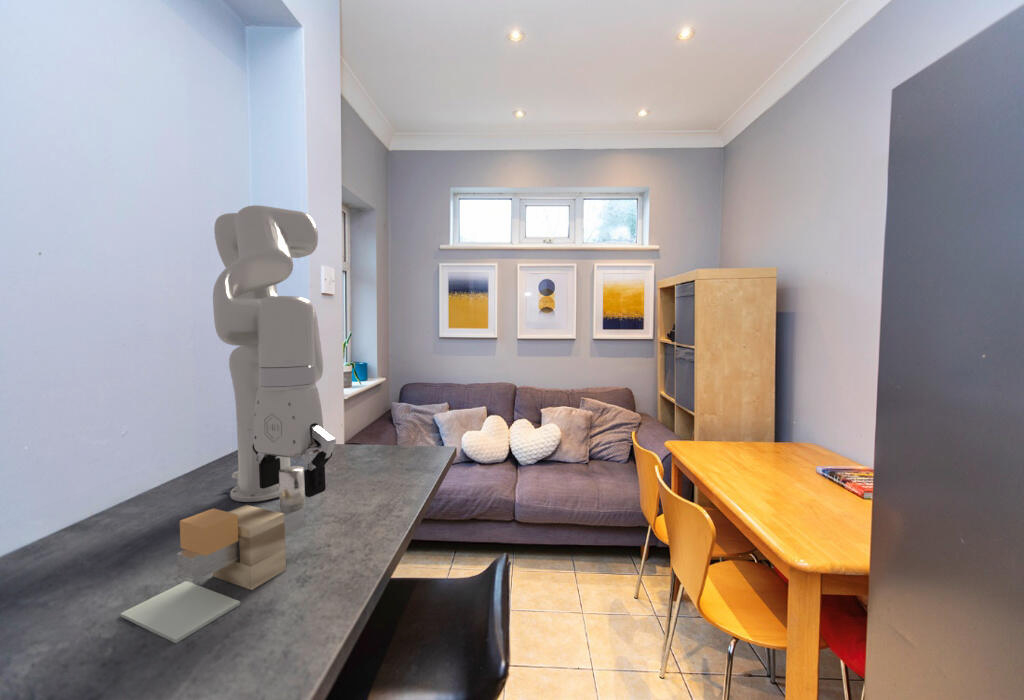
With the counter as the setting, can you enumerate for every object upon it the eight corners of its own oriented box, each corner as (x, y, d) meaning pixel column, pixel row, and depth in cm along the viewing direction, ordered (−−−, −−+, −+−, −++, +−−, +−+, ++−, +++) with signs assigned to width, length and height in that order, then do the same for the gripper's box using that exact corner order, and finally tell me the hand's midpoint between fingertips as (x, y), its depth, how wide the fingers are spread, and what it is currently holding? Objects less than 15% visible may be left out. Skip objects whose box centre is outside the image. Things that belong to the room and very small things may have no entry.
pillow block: (213, 576, 58) (210, 518, 57) (248, 558, 62) (246, 504, 62) (251, 590, 55) (249, 529, 54) (285, 569, 59) (284, 513, 59)
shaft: (176, 576, 52) (173, 505, 51) (294, 520, 67) (293, 464, 67) (193, 583, 50) (190, 509, 50) (310, 524, 66) (308, 467, 65)
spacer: (180, 547, 53) (179, 520, 53) (214, 533, 56) (213, 508, 56) (205, 556, 51) (204, 527, 51) (238, 540, 54) (237, 514, 54)
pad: (120, 616, 50) (120, 613, 50) (186, 583, 56) (186, 580, 56) (175, 643, 45) (175, 639, 45) (240, 604, 52) (240, 601, 52)
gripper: (226, 379, 64) (230, 491, 64) (308, 382, 57) (312, 507, 57) (272, 375, 71) (275, 475, 71) (350, 377, 64) (353, 488, 64)
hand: (292, 489), depth 64 cm, fingers open, 9 cm apart
